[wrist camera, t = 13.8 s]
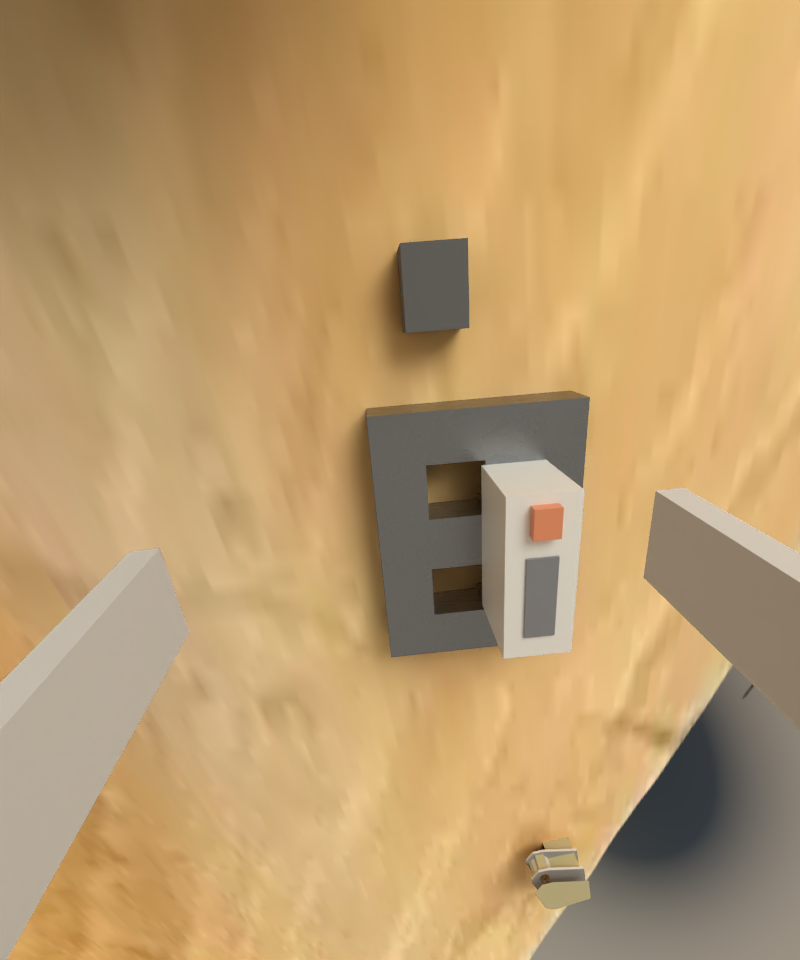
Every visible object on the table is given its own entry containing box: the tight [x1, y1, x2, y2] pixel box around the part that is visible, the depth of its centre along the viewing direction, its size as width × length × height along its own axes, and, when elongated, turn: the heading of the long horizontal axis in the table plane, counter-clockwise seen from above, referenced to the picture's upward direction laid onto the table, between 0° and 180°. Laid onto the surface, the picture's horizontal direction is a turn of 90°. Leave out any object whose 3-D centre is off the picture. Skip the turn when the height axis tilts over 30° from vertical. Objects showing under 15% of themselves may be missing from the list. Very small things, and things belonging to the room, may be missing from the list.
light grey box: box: [481, 460, 585, 659], centre depth 36 cm, size 6×14×11 cm, turn 4°
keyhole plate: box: [366, 391, 590, 657], centre depth 40 cm, size 18×24×4 cm
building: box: [526, 837, 590, 909], centre depth 58 cm, size 10×9×6 cm
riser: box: [397, 238, 469, 333], centre depth 33 cm, size 5×6×3 cm
